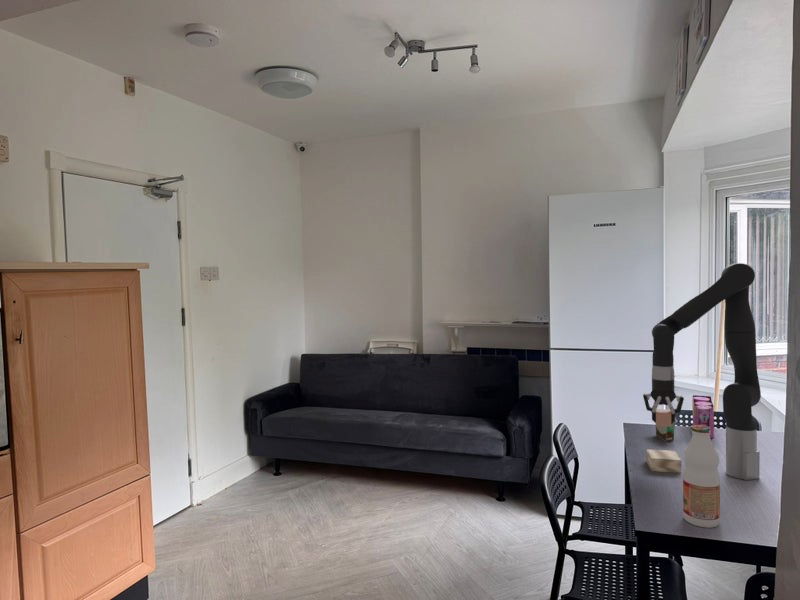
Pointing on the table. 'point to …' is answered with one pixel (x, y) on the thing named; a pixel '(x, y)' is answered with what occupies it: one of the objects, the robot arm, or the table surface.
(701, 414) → the gum box
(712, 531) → the table surface
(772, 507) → the table surface
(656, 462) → the birch block
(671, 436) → the food container
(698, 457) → the fruit juice
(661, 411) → the terracotta cube
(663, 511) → the table surface
